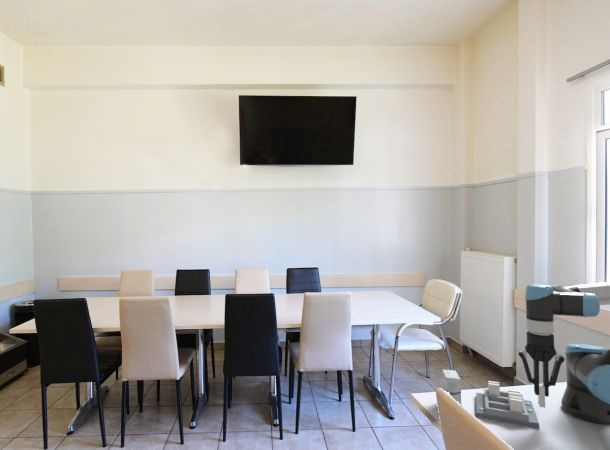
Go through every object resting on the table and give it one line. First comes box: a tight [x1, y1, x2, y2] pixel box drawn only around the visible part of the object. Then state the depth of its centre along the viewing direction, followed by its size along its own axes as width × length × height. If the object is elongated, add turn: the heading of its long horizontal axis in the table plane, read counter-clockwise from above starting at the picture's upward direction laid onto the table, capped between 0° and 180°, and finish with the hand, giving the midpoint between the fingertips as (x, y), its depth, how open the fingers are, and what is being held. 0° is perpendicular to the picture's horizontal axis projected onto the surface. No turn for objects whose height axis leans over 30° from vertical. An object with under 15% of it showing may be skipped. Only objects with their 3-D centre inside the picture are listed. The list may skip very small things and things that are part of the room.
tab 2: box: [507, 389, 521, 404], centre depth 124 cm, size 4×3×6 cm
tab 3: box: [509, 396, 523, 413], centre depth 119 cm, size 4×3×6 cm
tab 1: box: [488, 380, 501, 396], centre depth 132 cm, size 4×3×6 cm
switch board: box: [475, 388, 540, 429], centre depth 125 cm, size 18×17×4 cm
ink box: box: [442, 369, 462, 405], centre depth 129 cm, size 8×5×12 cm, turn 168°
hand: (541, 405), depth 116 cm, fingers closed
